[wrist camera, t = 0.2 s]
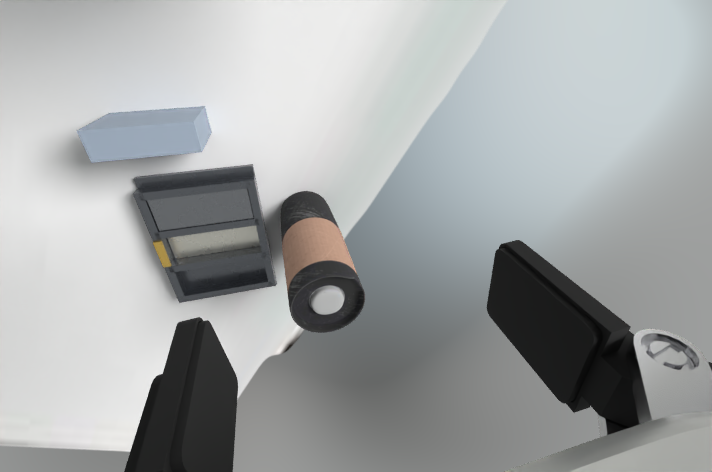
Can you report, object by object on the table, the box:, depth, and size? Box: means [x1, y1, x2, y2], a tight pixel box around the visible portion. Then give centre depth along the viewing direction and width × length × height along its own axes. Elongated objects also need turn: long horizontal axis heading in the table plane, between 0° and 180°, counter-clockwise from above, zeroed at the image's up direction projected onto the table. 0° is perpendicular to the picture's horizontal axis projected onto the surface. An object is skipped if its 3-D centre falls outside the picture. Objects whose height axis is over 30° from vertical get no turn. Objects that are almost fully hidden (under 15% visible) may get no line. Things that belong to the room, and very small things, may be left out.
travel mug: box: [281, 191, 365, 333], centre depth 40 cm, size 8×8×20 cm
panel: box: [77, 106, 211, 163], centre depth 35 cm, size 3×10×8 cm, turn 92°
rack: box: [133, 164, 277, 303], centre depth 46 cm, size 20×14×3 cm
